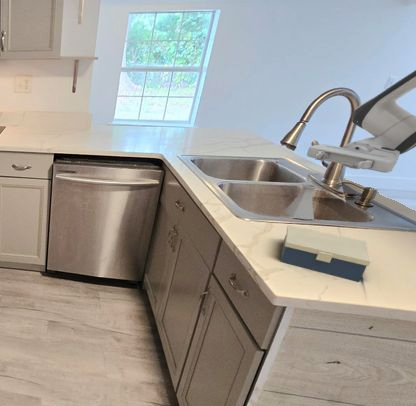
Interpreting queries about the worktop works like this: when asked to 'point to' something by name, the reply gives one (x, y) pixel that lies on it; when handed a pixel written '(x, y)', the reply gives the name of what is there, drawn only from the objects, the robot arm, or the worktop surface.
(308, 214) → the flask
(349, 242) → the lunchbox
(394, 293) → the worktop surface
